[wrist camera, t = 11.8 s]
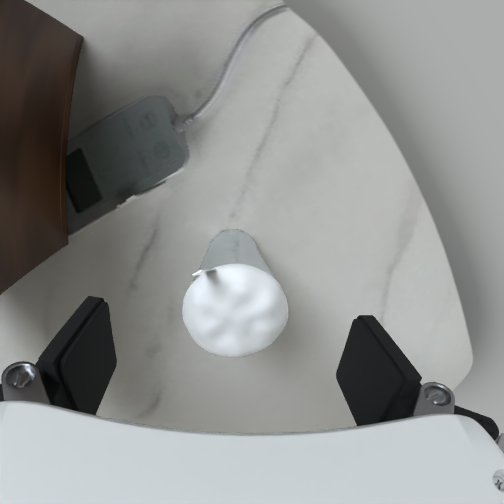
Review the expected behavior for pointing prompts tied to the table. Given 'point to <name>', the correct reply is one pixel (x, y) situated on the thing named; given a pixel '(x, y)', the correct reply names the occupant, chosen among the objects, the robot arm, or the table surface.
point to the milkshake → (234, 299)
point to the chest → (33, 135)
